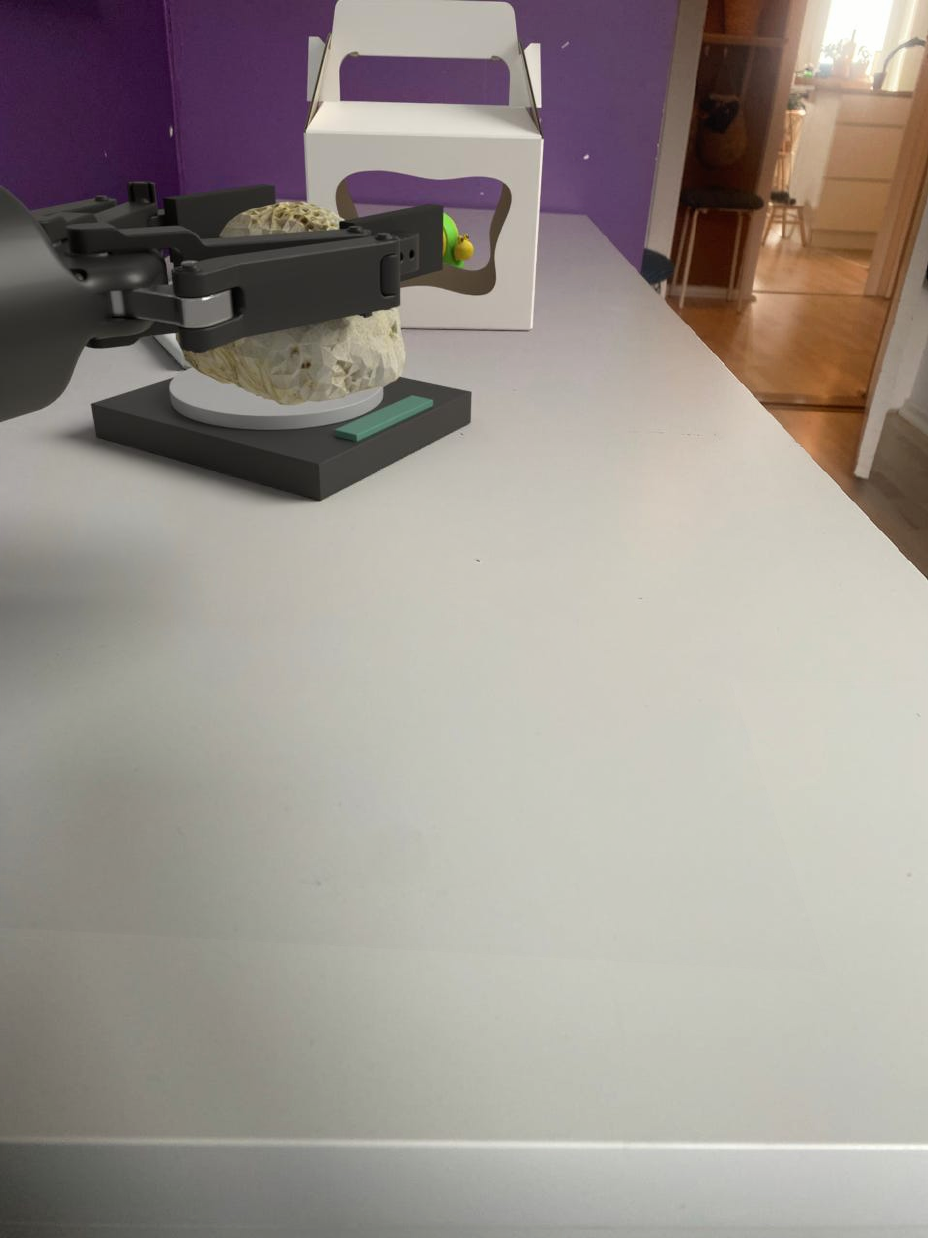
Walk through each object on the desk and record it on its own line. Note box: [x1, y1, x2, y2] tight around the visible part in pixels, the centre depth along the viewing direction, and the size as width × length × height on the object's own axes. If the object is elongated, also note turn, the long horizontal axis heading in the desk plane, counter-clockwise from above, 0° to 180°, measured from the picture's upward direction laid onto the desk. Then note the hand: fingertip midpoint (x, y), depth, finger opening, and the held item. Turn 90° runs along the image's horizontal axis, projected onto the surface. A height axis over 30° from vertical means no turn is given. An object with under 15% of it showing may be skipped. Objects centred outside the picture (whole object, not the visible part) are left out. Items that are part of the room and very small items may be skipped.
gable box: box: [303, 0, 545, 332], centre depth 98 cm, size 22×13×28 cm, turn 92°
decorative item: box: [175, 201, 407, 405], centre depth 45 cm, size 12×9×10 cm
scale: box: [90, 367, 473, 502], centre depth 72 cm, size 20×18×3 cm
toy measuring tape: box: [443, 212, 475, 269], centre depth 127 cm, size 6×19×7 cm, turn 59°
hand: (349, 225), depth 47 cm, fingers closed on decorative item, 9 cm apart
